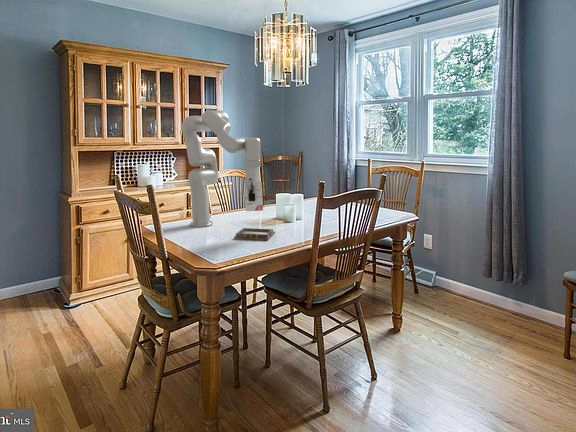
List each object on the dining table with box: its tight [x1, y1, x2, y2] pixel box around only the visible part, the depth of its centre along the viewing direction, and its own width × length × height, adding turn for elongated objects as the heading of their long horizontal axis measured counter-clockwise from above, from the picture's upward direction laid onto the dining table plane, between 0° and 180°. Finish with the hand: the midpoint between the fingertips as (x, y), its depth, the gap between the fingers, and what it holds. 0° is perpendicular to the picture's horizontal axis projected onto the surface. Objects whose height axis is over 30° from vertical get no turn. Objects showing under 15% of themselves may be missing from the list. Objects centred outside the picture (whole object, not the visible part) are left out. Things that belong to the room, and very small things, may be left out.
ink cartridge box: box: [244, 180, 264, 212], centre depth 211 cm, size 9×5×15 cm, turn 99°
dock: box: [233, 227, 276, 242], centre depth 215 cm, size 15×17×3 cm
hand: (253, 199), depth 211 cm, fingers closed on ink cartridge box, 6 cm apart
